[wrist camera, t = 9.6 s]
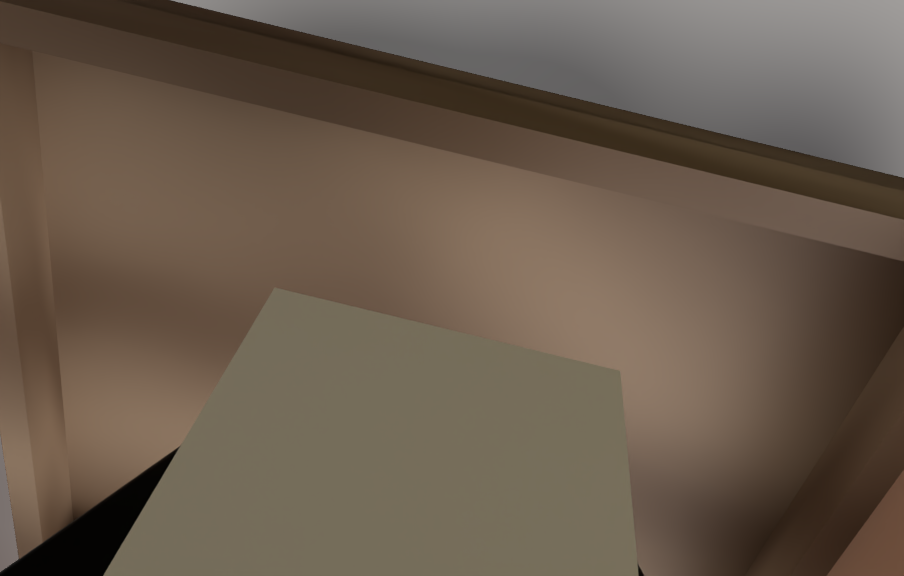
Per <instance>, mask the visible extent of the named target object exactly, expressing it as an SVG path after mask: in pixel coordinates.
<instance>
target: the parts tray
mask: <svg viewBox="0 0 904 576" xmlns="http://www.w3.org/2000/svg"><path fill="white" fill-rule="evenodd" d="M274 288H278V289H283V290H287V291H291V292H295V293H299V294H303V295H307V296H312V297H316V298H320V299H324V300H328V301H332V302H337V303H341V304H345V305H349V306H353V307H357V308H361V309H366V310H370V311H374V312H378V313H382V314H386V315H390V316H395V317H399V318H403V319H407V320H411V321H415V322H420V323H424V324H428V325H432V326H436V327H440V328H444V329H449V330H453V331H457V332H461V333H465V334H469V335H473V336H478V337H482V338H486V339H490V340H494V341H498V342H503V343H507V344H511V345H515V346H519V347H523V348H527V349H532V350H536V351H540V352H544V353H548V354H552V355H556V356H561V357H565V358H569V359H573V360H577V361H581V362H586V363H590V364H594V365H598V366H602V367H606V368H610V369H615V370H619V371H620V373H621V385H622V396H623V407H624V418H625V429H626V440H627V452H628V463H629V474H630V485H631V496H632V508H633V519H634V530H635V541H636V552H637V563H638V565H639V566H640V568H641V570H642V572H643V574H644V576H827V575H828V573H829V572H830V570H831V569H832V568H833V566H834V565H835V564H836V562H837V561H838V559H839V558H840V557H841V555H842V554H843V553H844V551H845V550H846V548H847V547H848V546H849V544H850V543H851V542H852V540H853V539H854V537H855V536H856V535H857V533H858V532H859V531H860V529H861V528H862V526H863V525H864V524H865V522H866V521H867V520H868V518H869V517H870V515H871V514H872V513H873V511H874V510H875V509H876V507H877V506H878V504H879V503H880V502H881V500H882V499H883V498H884V496H885V495H886V493H887V492H888V491H889V489H890V488H891V487H892V485H893V484H894V483H895V481H896V480H897V478H898V477H899V476H900V474H901V473H902V472H903V470H904V178H902V177H898V176H893V175H889V174H885V173H881V172H877V171H873V170H869V169H865V168H860V167H856V166H852V165H848V164H844V163H839V162H836V161H832V160H828V159H823V158H819V157H815V156H811V155H807V154H803V153H799V152H795V151H790V150H786V149H782V148H778V147H774V146H770V145H766V144H761V143H757V142H753V141H749V140H745V139H741V138H736V137H733V136H728V135H724V134H720V133H716V132H712V131H708V130H704V129H699V128H695V127H691V126H687V125H683V124H679V123H674V122H670V121H666V120H662V119H658V118H654V117H650V116H646V115H642V114H637V113H633V112H629V111H625V110H621V109H617V108H612V107H609V106H605V105H600V104H596V103H592V102H588V101H584V100H580V99H576V98H571V97H567V96H563V95H559V94H555V93H551V92H547V91H543V90H538V89H534V88H530V87H526V86H522V85H518V84H513V83H509V82H505V81H501V80H497V79H493V78H489V77H484V76H481V75H476V74H472V73H468V72H464V71H460V70H456V69H452V68H447V67H443V66H439V65H435V64H431V63H427V62H423V61H419V60H414V59H410V58H406V57H402V56H398V55H394V54H389V53H386V52H381V51H377V50H373V49H369V48H365V47H361V46H357V45H352V44H348V43H344V42H340V41H336V40H332V39H328V38H324V37H319V36H315V35H311V34H307V33H303V32H299V31H294V30H290V29H286V28H282V27H278V26H274V25H270V24H266V23H262V22H257V21H253V20H249V19H245V18H241V17H236V16H233V15H228V14H224V13H220V12H216V11H212V10H208V9H204V8H200V7H196V6H191V5H187V4H183V3H178V2H175V1H171V0H0V435H1V441H2V448H3V455H4V462H5V468H6V475H7V482H8V488H9V495H10V502H11V508H12V515H13V521H14V528H15V535H16V542H17V548H18V555H19V559H20V558H21V557H23V556H24V555H26V554H27V553H28V552H30V551H31V550H33V549H34V548H36V547H37V546H38V545H40V544H41V543H43V542H44V541H45V540H47V539H48V538H50V537H51V536H53V535H54V534H55V533H57V532H58V531H60V530H61V529H63V528H64V527H65V526H67V525H68V524H70V523H71V522H72V521H74V520H75V519H77V518H78V517H80V516H81V515H82V514H84V513H85V512H87V511H88V510H90V509H91V508H92V507H94V506H95V505H97V504H98V503H99V502H101V501H102V500H104V499H105V498H107V497H108V496H109V495H111V494H112V493H114V492H115V491H117V490H118V489H119V488H121V487H122V486H124V485H125V484H127V483H128V482H129V481H131V480H132V479H134V478H135V477H136V476H138V475H139V474H141V473H142V472H144V471H145V470H146V469H148V468H149V467H151V466H152V465H154V464H155V463H156V462H158V461H159V460H161V459H162V458H163V457H165V456H166V455H168V454H169V453H171V452H172V451H173V450H175V449H176V448H178V447H179V446H181V444H182V443H183V441H184V439H185V437H186V436H187V434H188V432H189V431H190V429H191V427H192V426H193V424H194V422H195V421H196V419H197V417H198V416H199V414H200V412H201V411H202V409H203V407H204V406H205V404H206V402H207V401H208V399H209V397H210V395H211V394H212V392H213V390H214V389H215V387H216V385H217V384H218V382H219V380H220V379H221V377H222V375H223V374H224V372H225V370H226V369H227V367H228V365H229V364H230V362H231V360H232V358H233V357H234V355H235V353H236V352H237V350H238V348H239V347H240V345H241V343H242V342H243V340H244V338H245V337H246V335H247V333H248V332H249V330H250V328H251V327H252V325H253V323H254V321H255V320H256V318H257V316H258V315H259V313H260V311H261V310H262V308H263V306H264V305H265V303H266V301H267V300H268V298H269V296H270V295H271V293H272V291H273V290H274Z"/></svg>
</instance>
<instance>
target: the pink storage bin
mask: <svg viewBox="0 0 904 576" xmlns="http://www.w3.org/2000/svg"><path fill="white" fill-rule="evenodd" d="M827 576H904V470H903V472H902V473H901V474H900V476H899V477H898V478H897V480H896V481H895V483H894V484H893V485H892V487H891V488H890V489H889V491H888V492H887V493H886V495H885V496H884V498H883V499H882V500H881V502H880V503H879V504H878V506H877V507H876V509H875V510H874V511H873V513H872V514H871V515H870V517H869V518H868V520H867V521H866V522H865V524H864V525H863V526H862V528H861V529H860V531H859V532H858V533H857V535H856V536H855V537H854V539H853V540H852V542H851V543H850V544H849V546H848V547H847V548H846V550H845V551H844V553H843V554H842V555H841V557H840V558H839V559H838V561H837V562H836V564H835V565H834V566H833V568H832V569H831V570H830V572H829V573H828V575H827Z"/></svg>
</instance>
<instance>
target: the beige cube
mask: <svg viewBox="0 0 904 576" xmlns="http://www.w3.org/2000/svg"><path fill="white" fill-rule="evenodd" d="M103 576H639V575H638V563H637V552H636V541H635V530H634V519H633V508H632V496H631V485H630V474H629V463H628V452H627V440H626V429H625V418H624V407H623V396H622V385H621V373H620V371H619V370H615V369H610V368H606V367H602V366H598V365H594V364H590V363H586V362H581V361H577V360H573V359H569V358H565V357H561V356H556V355H552V354H548V353H544V352H540V351H536V350H532V349H527V348H523V347H519V346H515V345H511V344H507V343H503V342H498V341H494V340H490V339H486V338H482V337H478V336H473V335H469V334H465V333H461V332H457V331H453V330H449V329H444V328H440V327H436V326H432V325H428V324H424V323H420V322H415V321H411V320H407V319H403V318H399V317H395V316H390V315H386V314H382V313H378V312H374V311H370V310H366V309H361V308H357V307H353V306H349V305H345V304H341V303H337V302H332V301H328V300H324V299H320V298H316V297H312V296H307V295H303V294H299V293H295V292H291V291H287V290H283V289H278V288H274V290H273V291H272V293H271V295H270V296H269V298H268V300H267V301H266V303H265V305H264V306H263V308H262V310H261V311H260V313H259V315H258V316H257V318H256V320H255V321H254V323H253V325H252V327H251V328H250V330H249V332H248V333H247V335H246V337H245V338H244V340H243V342H242V343H241V345H240V347H239V348H238V350H237V352H236V353H235V355H234V357H233V358H232V360H231V362H230V364H229V365H228V367H227V369H226V370H225V372H224V374H223V375H222V377H221V379H220V380H219V382H218V384H217V385H216V387H215V389H214V390H213V392H212V394H211V395H210V397H209V399H208V401H207V402H206V404H205V406H204V407H203V409H202V411H201V412H200V414H199V416H198V417H197V419H196V421H195V422H194V424H193V426H192V427H191V429H190V431H189V432H188V434H187V436H186V437H185V439H184V441H183V443H182V444H181V446H180V448H179V449H178V451H177V453H176V454H175V456H174V458H173V459H172V461H171V463H170V464H169V466H168V468H167V469H166V471H165V473H164V474H163V476H162V478H161V480H160V481H159V483H158V485H157V486H156V488H155V490H154V491H153V493H152V495H151V496H150V498H149V500H148V501H147V503H146V505H145V506H144V508H143V510H142V511H141V513H140V515H139V517H138V518H137V520H136V522H135V523H134V525H133V527H132V528H131V530H130V532H129V533H128V535H127V537H126V538H125V540H124V542H123V543H122V545H121V547H120V548H119V550H118V552H117V553H116V555H115V557H114V559H113V560H112V562H111V564H110V565H109V567H108V569H107V570H106V572H105V574H104V575H103Z"/></svg>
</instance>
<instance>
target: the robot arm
mask: <svg viewBox="0 0 904 576" xmlns="http://www.w3.org/2000/svg"><path fill="white" fill-rule="evenodd" d="M179 448H180V446H179V447H178V448H176V449H175V450H173V451H172V452H171V453H169V454H168V455H166V456H165V457H163V458H162V459H161V460H159V461H158V462H156V463H155V464H154V465H152V466H151V467H149V468H148V469H146V470H145V471H144V472H142V473H141V474H139V475H138V476H136V477H135V478H134V479H132V480H131V481H129V482H128V483H127V484H125V485H124V486H122V487H121V488H119V489H118V490H117V491H115V492H114V493H112V494H111V495H109V496H108V497H107V498H105V499H104V500H102V501H101V502H99V503H98V504H97V505H95V506H94V507H92V508H91V509H90V510H88V511H87V512H85V513H84V514H82V515H81V516H80V517H78V518H77V519H75V520H74V521H72V522H71V523H70V524H68V525H67V526H65V527H64V528H63V529H61V530H60V531H58V532H57V533H55V534H54V535H53V536H51V537H50V538H48V539H47V540H45V541H44V542H43V543H41V544H40V545H38V546H37V547H36V548H34V549H33V550H31V551H30V552H28V553H27V554H26V555H24V556H23V557H21V558H20V559H18V560H17V561H16V562H14V563H13V564H11V565H10V566H9V567H7V568H6V569H4V570H3V571H1V572H0V576H103V575H104V574H105V572H106V570H107V569H108V567H109V565H110V564H111V562H112V560H113V559H114V557H115V555H116V553H117V552H118V550H119V548H120V547H121V545H122V543H123V542H124V540H125V538H126V537H127V535H128V533H129V532H130V530H131V528H132V527H133V525H134V523H135V522H136V520H137V518H138V517H139V515H140V513H141V511H142V510H143V508H144V506H145V505H146V503H147V501H148V500H149V498H150V496H151V495H152V493H153V491H154V490H155V488H156V486H157V485H158V483H159V481H160V480H161V478H162V476H163V474H164V473H165V471H166V469H167V468H168V466H169V464H170V463H171V461H172V459H173V458H174V456H175V454H176V453H177V451H178V449H179ZM638 575H639V576H644V574H643V572H642V570H641V568H640V566H639V565H638Z"/></svg>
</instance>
